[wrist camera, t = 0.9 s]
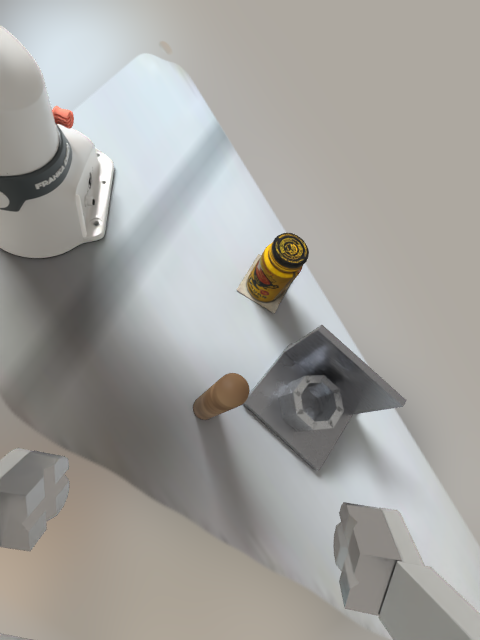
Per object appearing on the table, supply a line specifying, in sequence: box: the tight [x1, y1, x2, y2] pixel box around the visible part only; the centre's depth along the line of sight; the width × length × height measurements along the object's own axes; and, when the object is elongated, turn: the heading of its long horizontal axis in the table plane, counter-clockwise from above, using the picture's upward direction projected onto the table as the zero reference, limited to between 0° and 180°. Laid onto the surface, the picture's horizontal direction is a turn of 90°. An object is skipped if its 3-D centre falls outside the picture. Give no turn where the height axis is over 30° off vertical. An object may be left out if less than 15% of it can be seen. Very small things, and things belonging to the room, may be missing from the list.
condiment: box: [237, 233, 309, 314], centre depth 51 cm, size 7×8×12 cm
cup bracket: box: [243, 325, 406, 470], centre depth 45 cm, size 12×14×12 cm
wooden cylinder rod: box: [193, 373, 249, 420], centre depth 39 cm, size 3×3×16 cm
